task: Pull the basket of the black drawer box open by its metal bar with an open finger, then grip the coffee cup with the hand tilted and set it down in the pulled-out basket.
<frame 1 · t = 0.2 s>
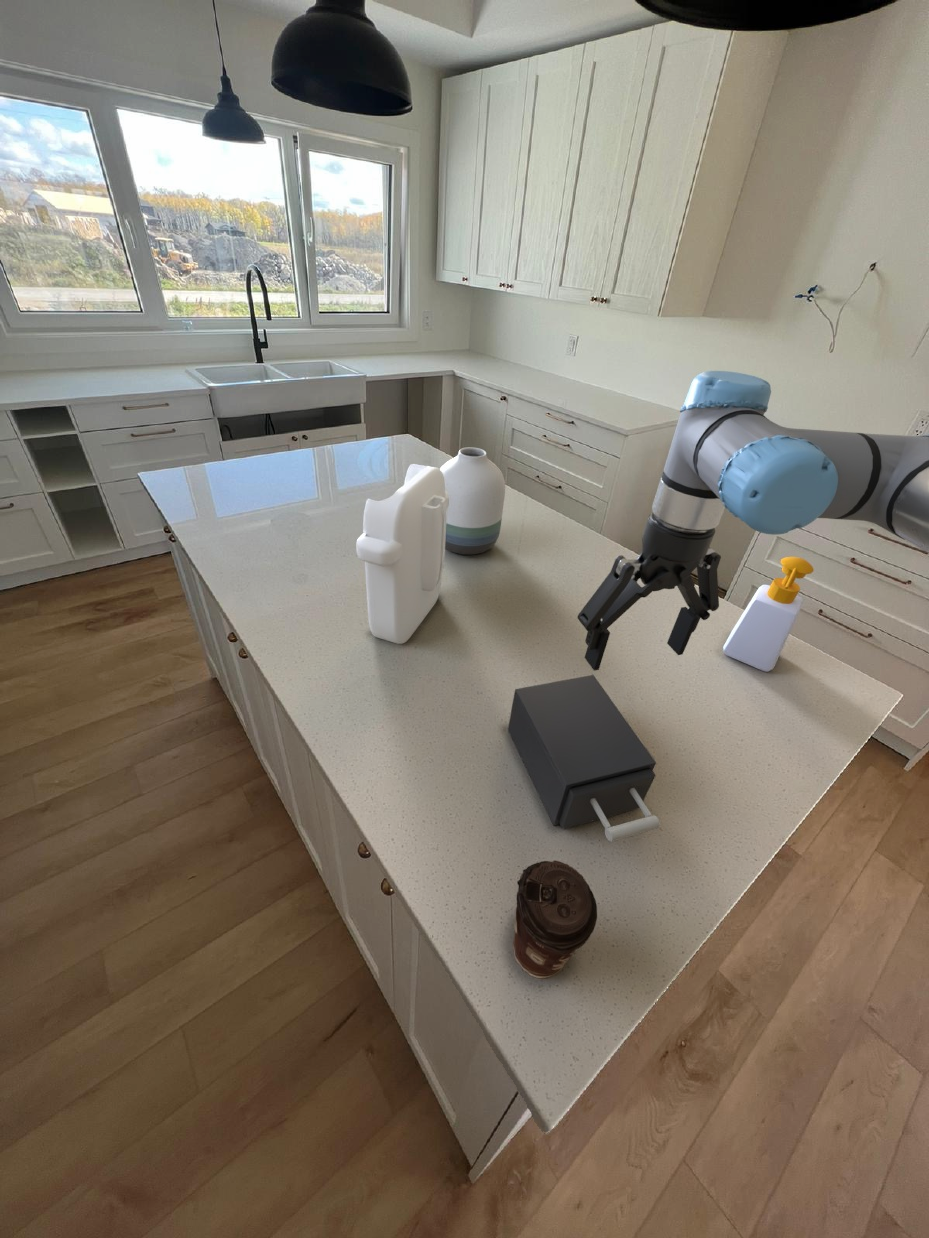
hand: (634, 656, 73), 19 cm above the countertop, tool pointing down, fingers open, 13 cm apart
black drawer box: (568, 764, 80), on the countertop
coffee cup: (538, 946, 60), on the countertop
basket: (589, 770, 74), point 5 cm above the countertop, slide at 0.0 cm, touching black drawer box
white jerry can: (413, 617, 107), on the countertop
vase: (465, 544, 133), on the countertop
soap bottle: (746, 659, 104), on the countertop
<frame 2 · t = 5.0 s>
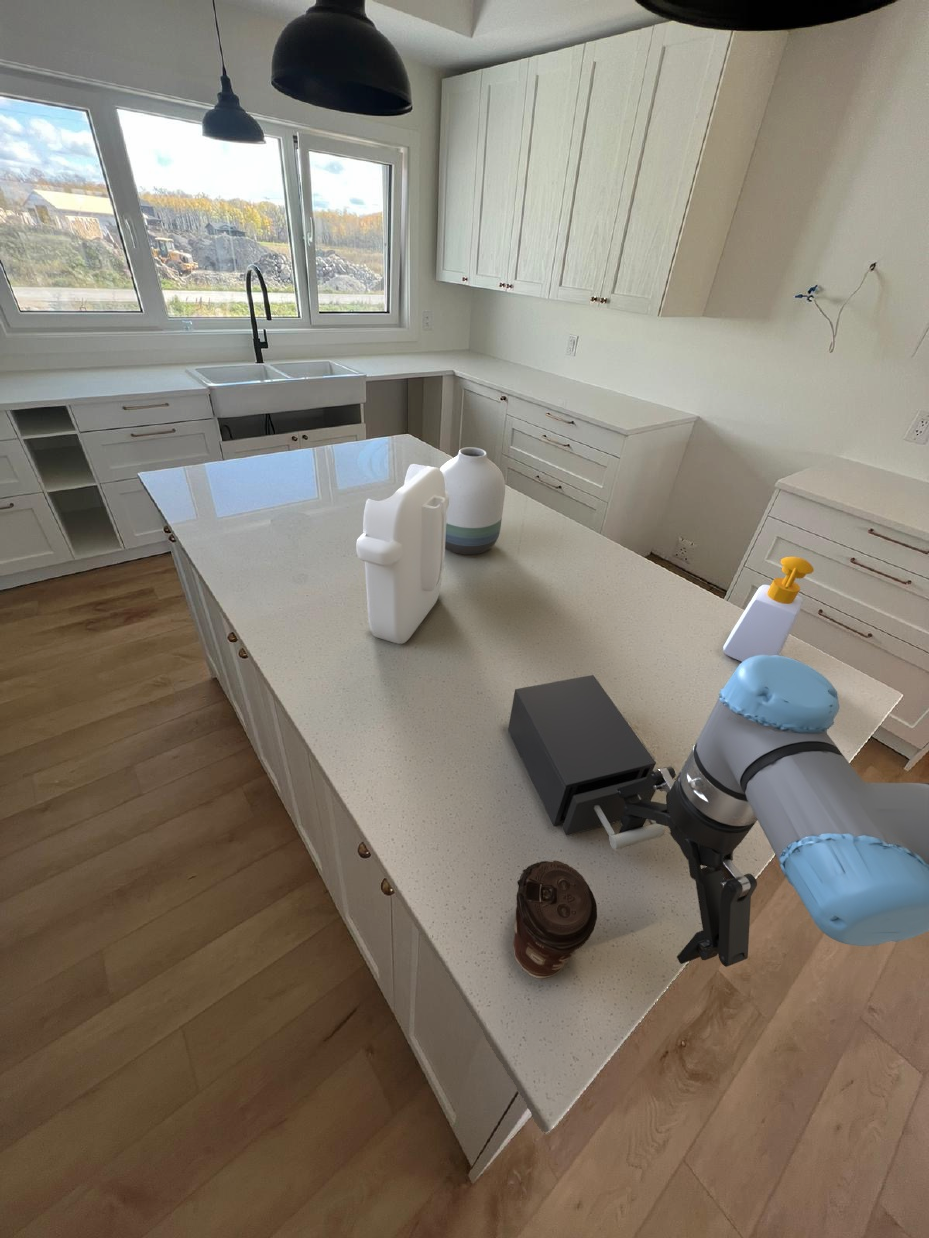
hand: (653, 895, 62), 3 cm above the countertop, tool pointing down, fingers open, 13 cm apart
basket: (593, 776, 73), point 5 cm above the countertop, slide at 1.1 cm, touching gripper
everything else where it was.
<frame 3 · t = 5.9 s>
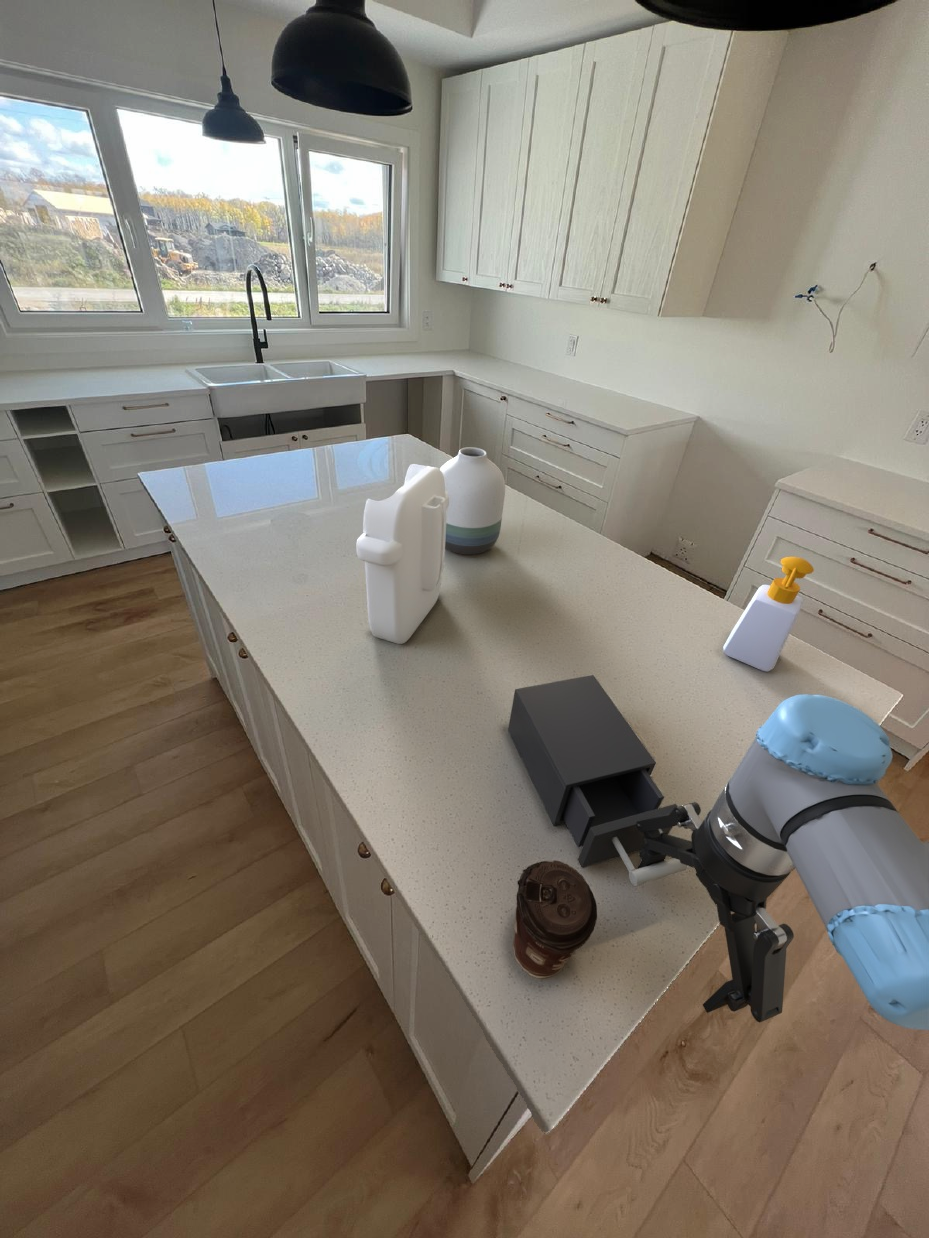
hand: (675, 935, 59), 3 cm above the countertop, tool pointing down, fingers open, 13 cm apart
basket: (609, 803, 70), point 5 cm above the countertop, slide at 5.6 cm, touching gripper
everything else where it was.
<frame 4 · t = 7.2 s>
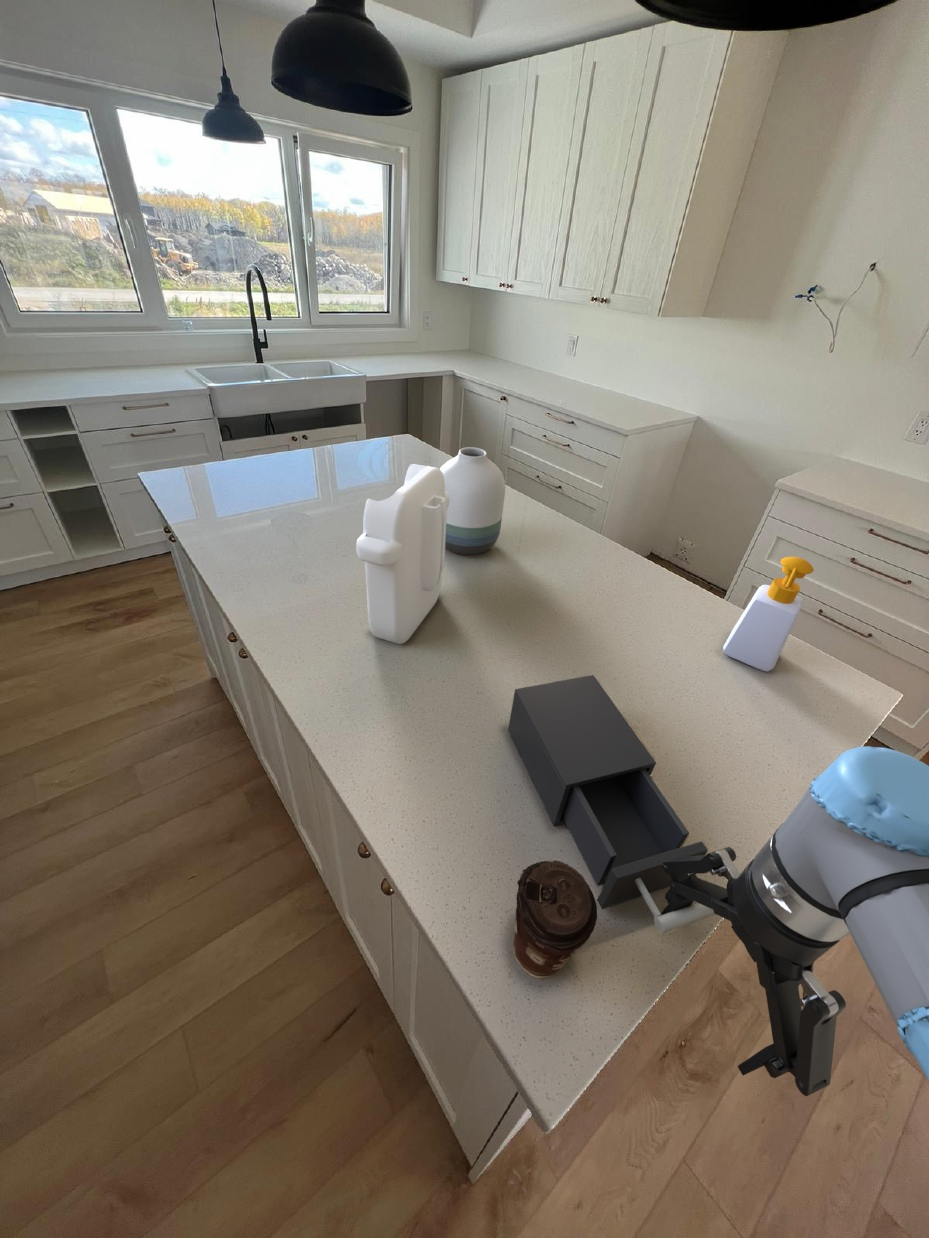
hand: (705, 986, 55), 3 cm above the countertop, tool pointing down, fingers open, 13 cm apart
basket: (630, 839, 66), point 5 cm above the countertop, slide at 10.8 cm
everything else where it was.
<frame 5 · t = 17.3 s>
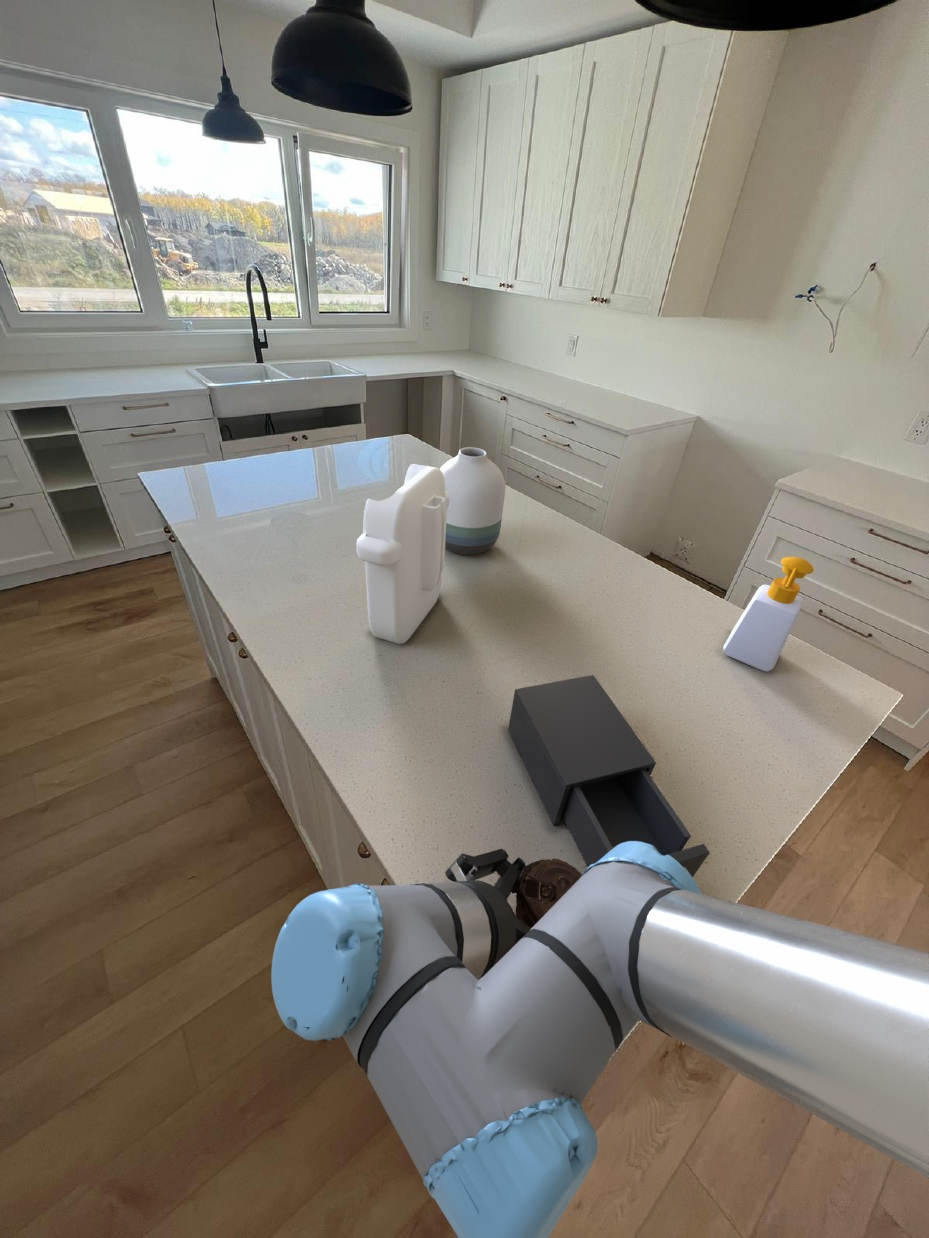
hand: (567, 912, 58), 4 cm above the countertop, tool tilted 45°, fingers closed on coffee cup, 8 cm apart
coffee cup: (538, 946, 60), on the countertop, touching gripper
basket: (631, 841, 65), point 5 cm above the countertop, slide at 11.1 cm
everything else where it was.
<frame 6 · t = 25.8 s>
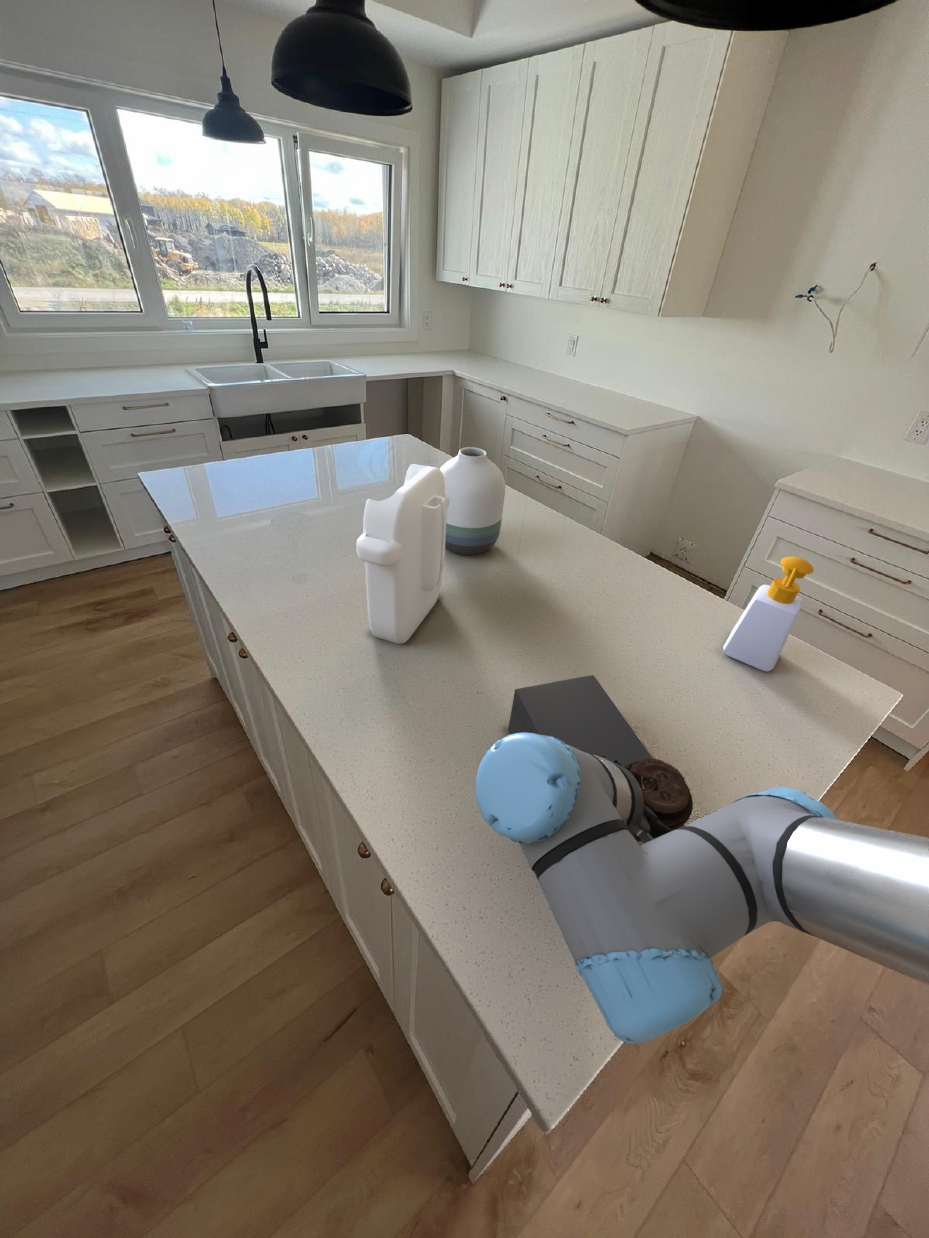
hand: (657, 811, 65), 8 cm above the countertop, tool tilted 45°, fingers closed on coffee cup, 8 cm apart
coffee cup: (629, 844, 66), point 4 cm above the countertop, touching gripper
basket: (631, 840, 66), point 5 cm above the countertop, slide at 10.9 cm, touching gripper
everything else where it was.
when the fingers open (8 cm above the countertop, at t = 26.4 s): coffee cup drops 2 cm, resting on basket.
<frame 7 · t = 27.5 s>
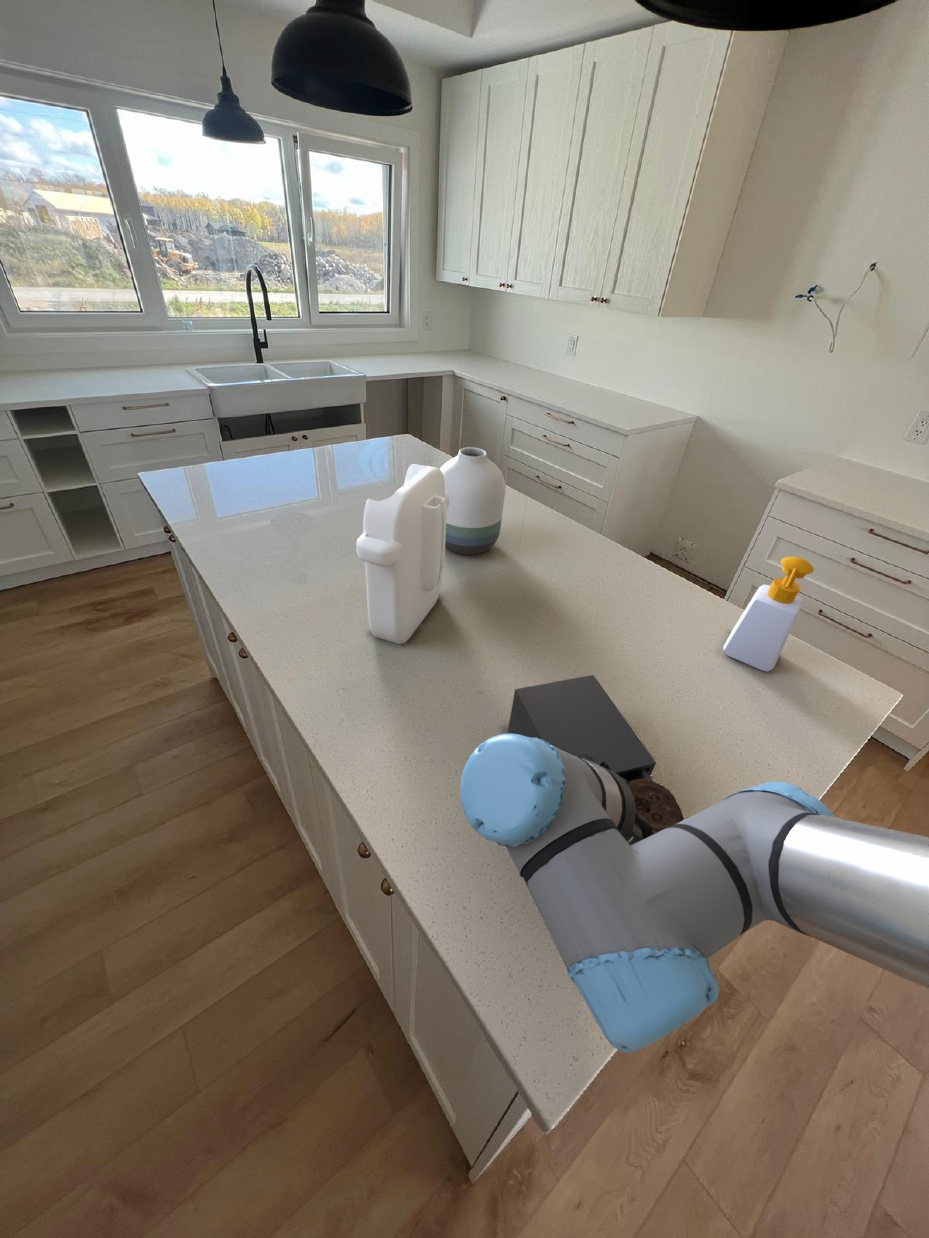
hand: (651, 820, 63), 9 cm above the countertop, tool tilted 45°, fingers open, 10 cm apart
coffee cup: (621, 862, 66), point 2 cm above the countertop, touching basket
basket: (639, 853, 64), point 5 cm above the countertop, slide at 12.8 cm, touching coffee cup
everything else where it was.
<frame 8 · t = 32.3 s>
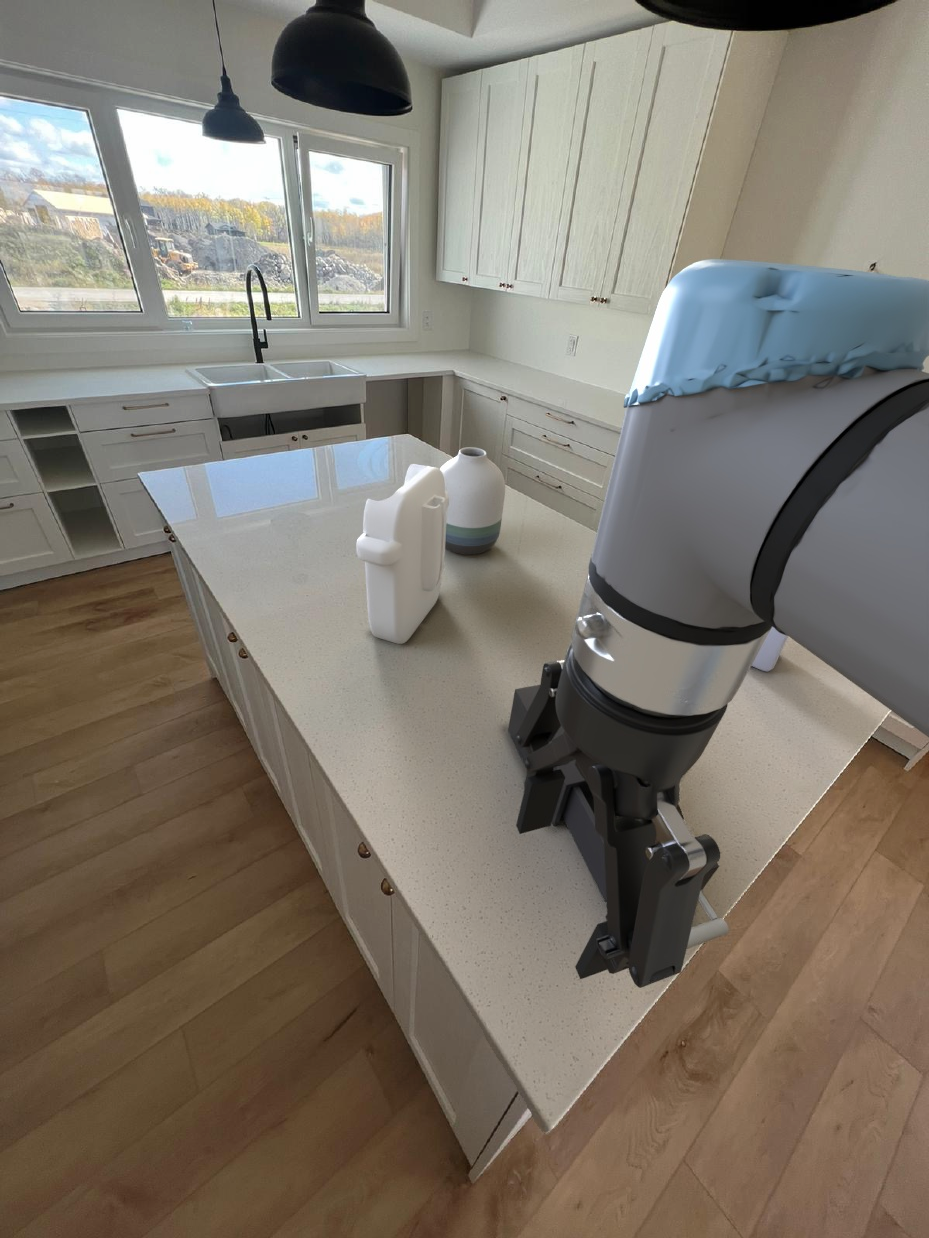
hand: (561, 888, 38), 28 cm above the countertop, tool pointing down, fingers open, 10 cm apart
nothing on the countertop moved.
at the end: basket slide at 12.8 cm; coffee cup inside the target area in the basket (1.3 cm from its centre), point 1.8 cm above the black drawer box's base; coffee cup tilted 0° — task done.
